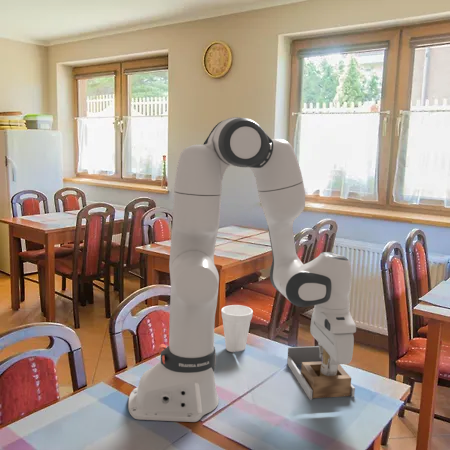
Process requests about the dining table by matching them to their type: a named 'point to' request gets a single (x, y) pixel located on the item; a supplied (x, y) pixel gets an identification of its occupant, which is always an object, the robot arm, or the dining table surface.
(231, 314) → the cup
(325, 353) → the sprinkles bottle
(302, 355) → the bay
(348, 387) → the crate
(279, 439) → the dining table surface
